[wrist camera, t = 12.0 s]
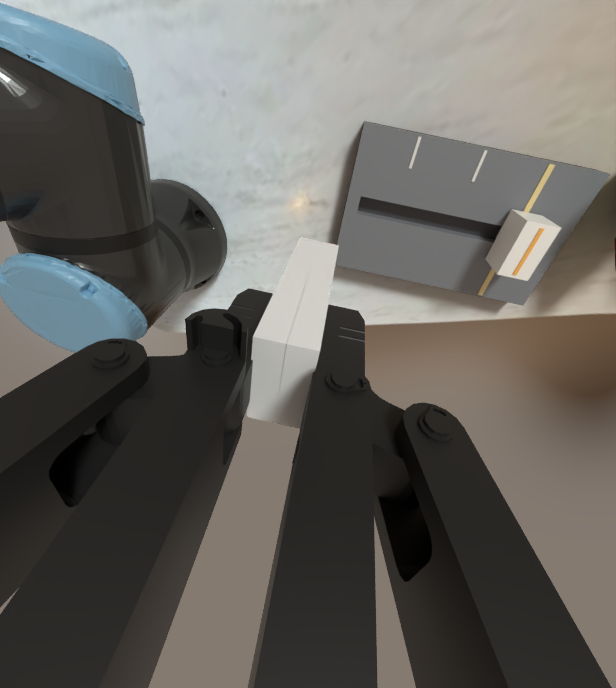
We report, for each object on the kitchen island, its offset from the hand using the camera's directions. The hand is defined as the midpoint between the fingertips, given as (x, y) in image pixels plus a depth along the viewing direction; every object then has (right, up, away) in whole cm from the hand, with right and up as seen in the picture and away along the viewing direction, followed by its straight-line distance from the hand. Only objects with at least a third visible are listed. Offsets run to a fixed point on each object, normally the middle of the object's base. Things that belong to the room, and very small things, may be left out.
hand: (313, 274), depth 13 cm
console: (+18, +13, +28) cm, 36 cm away
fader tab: (+24, +11, +27) cm, 37 cm away
